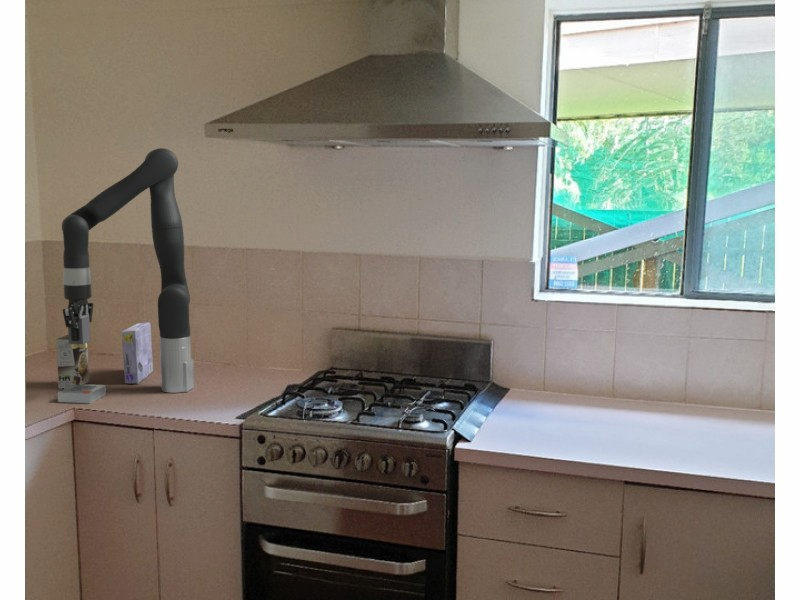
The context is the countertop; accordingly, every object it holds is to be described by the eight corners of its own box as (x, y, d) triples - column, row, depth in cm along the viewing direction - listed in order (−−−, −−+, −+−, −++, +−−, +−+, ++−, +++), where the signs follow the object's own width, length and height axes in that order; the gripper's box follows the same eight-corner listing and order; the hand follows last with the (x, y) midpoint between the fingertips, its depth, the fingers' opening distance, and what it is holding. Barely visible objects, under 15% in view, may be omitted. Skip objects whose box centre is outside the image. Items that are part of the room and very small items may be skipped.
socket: (106, 394, 237) (105, 382, 237) (90, 403, 227) (89, 391, 227) (75, 393, 238) (74, 381, 238) (57, 402, 228) (57, 390, 228)
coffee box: (78, 389, 243) (75, 339, 241) (57, 388, 243) (55, 338, 241) (90, 382, 252) (88, 333, 250) (70, 381, 252) (68, 333, 250)
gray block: (76, 345, 233) (75, 314, 232) (90, 346, 233) (89, 314, 231) (69, 348, 229) (67, 316, 227) (83, 349, 228) (81, 317, 227)
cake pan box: (140, 370, 268) (138, 320, 266) (154, 370, 269) (153, 321, 266) (122, 384, 249) (120, 331, 247) (138, 384, 250) (136, 331, 247)
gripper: (77, 286, 221) (79, 344, 223) (101, 280, 235) (103, 335, 237) (52, 285, 221) (55, 343, 224) (77, 279, 235) (79, 334, 238)
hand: (79, 339), depth 230 cm, fingers closed on gray block, 4 cm apart
